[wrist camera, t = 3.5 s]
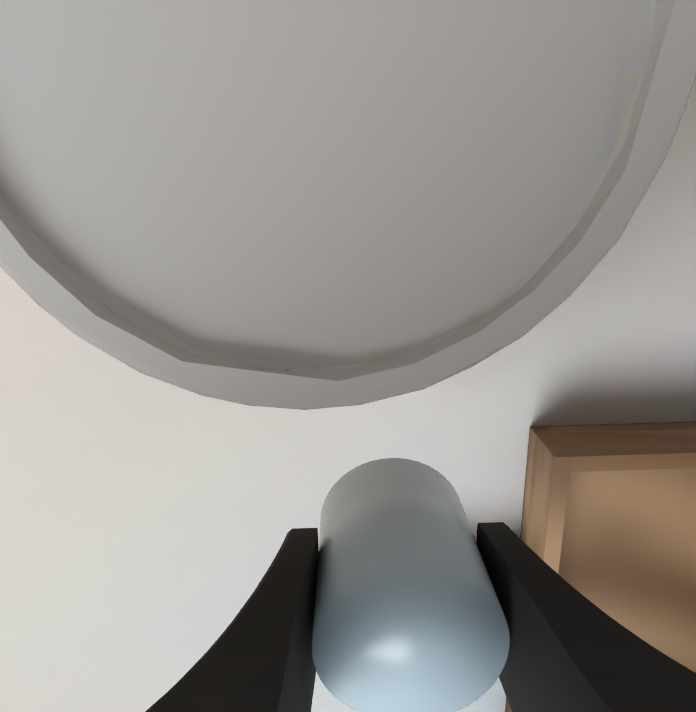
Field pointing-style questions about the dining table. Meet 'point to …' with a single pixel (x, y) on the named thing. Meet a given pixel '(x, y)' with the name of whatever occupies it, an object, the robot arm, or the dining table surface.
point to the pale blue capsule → (403, 594)
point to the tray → (620, 523)
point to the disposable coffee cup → (325, 177)
